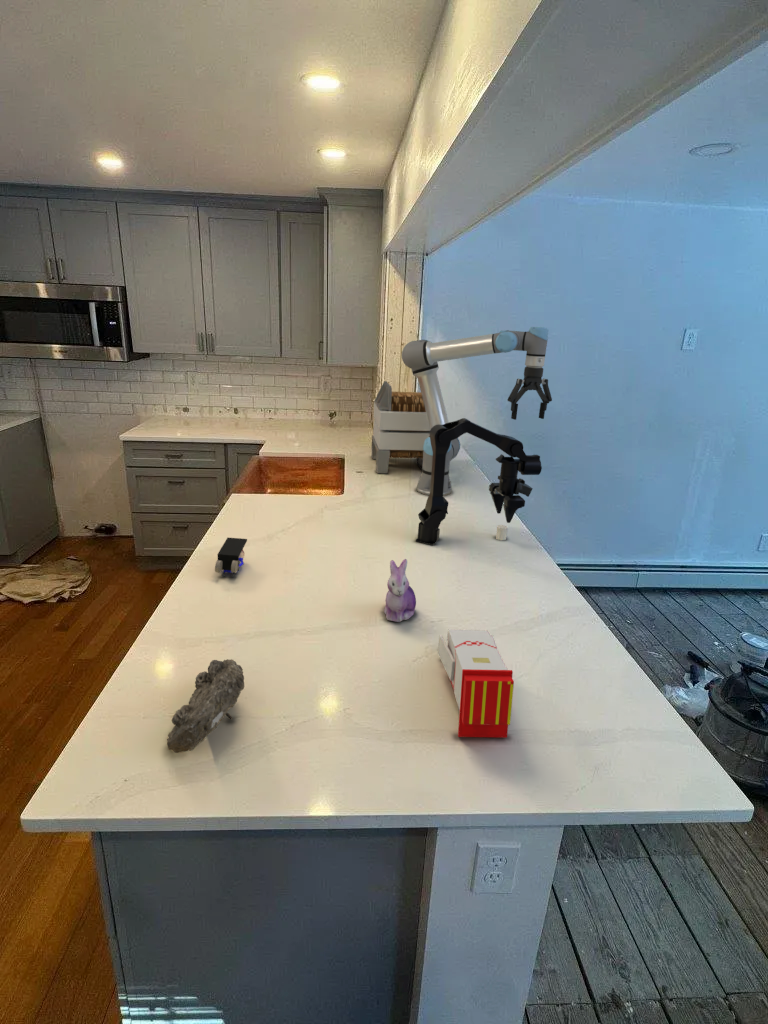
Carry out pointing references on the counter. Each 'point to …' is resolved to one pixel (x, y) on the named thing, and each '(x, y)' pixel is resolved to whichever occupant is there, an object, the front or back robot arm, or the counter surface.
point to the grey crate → (398, 426)
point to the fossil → (206, 705)
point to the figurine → (399, 594)
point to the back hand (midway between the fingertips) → (527, 418)
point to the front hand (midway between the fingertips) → (503, 517)
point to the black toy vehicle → (230, 556)
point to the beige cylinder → (501, 532)
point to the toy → (478, 682)
